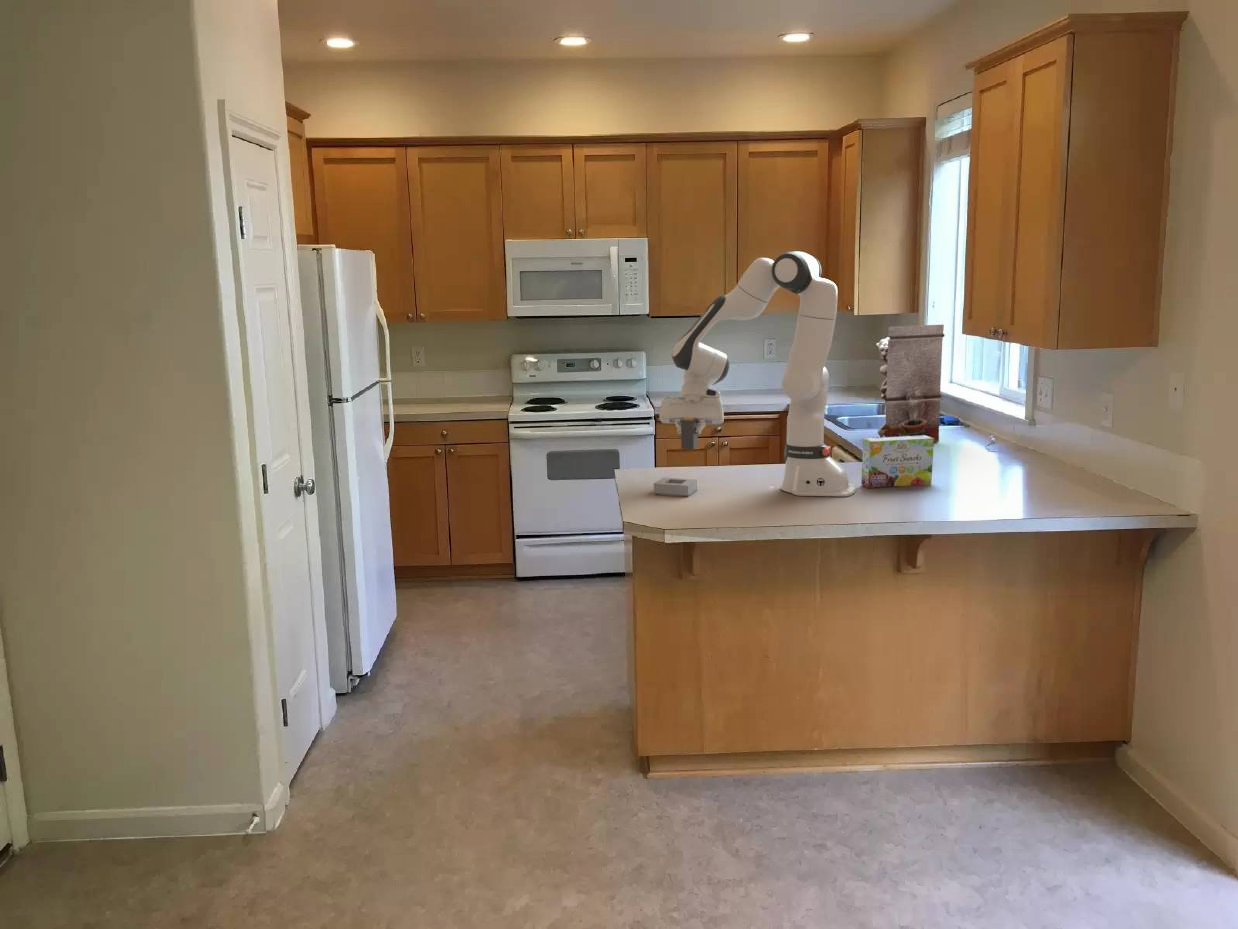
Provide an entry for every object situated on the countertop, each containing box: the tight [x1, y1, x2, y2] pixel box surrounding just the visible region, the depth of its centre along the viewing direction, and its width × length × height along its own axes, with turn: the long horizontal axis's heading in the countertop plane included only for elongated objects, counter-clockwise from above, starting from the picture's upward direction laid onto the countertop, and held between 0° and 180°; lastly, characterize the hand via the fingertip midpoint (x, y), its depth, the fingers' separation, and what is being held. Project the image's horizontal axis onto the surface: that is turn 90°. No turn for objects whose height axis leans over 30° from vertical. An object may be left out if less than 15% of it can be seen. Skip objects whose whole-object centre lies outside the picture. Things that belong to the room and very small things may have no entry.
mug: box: [885, 419, 927, 437], centre depth 324 cm, size 18×12×15 cm, turn 118°
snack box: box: [860, 435, 935, 489], centre depth 292 cm, size 21×6×15 cm, turn 101°
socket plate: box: [653, 477, 698, 498], centre depth 290 cm, size 11×9×4 cm
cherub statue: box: [876, 324, 945, 443], centre depth 363 cm, size 23×19×45 cm
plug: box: [680, 417, 698, 450], centre depth 294 cm, size 4×4×10 cm
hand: (688, 433), depth 293 cm, fingers closed on plug, 4 cm apart
